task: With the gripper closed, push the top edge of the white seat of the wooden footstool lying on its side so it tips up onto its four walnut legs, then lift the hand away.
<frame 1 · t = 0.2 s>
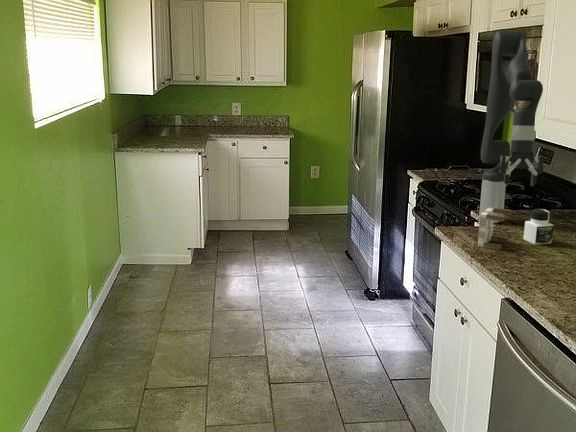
hand: (519, 185, 212), 22 cm above the worktop, tool pointing down, fingers open, 8 cm apart
medicine bottle: (537, 241, 225), on the worktop
footstool: (493, 243, 221), on the worktop
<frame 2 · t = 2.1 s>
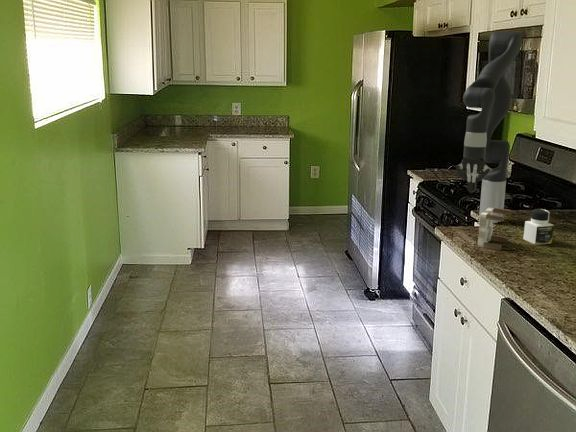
hand: (471, 192, 221), 18 cm above the worktop, tool pointing down, fingers closed
nothing on the worktop moved.
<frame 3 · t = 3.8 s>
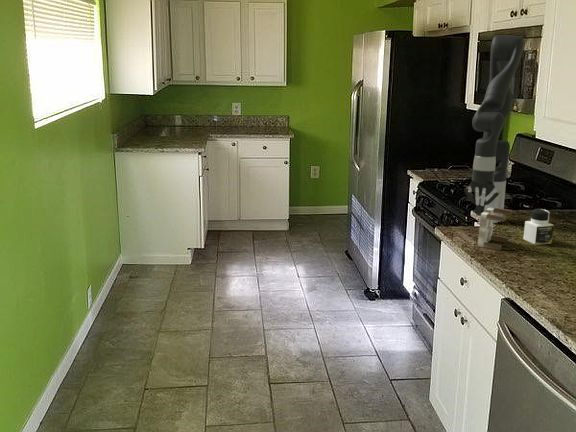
hand: (479, 215, 222), 10 cm above the worktop, tool pointing down, fingers closed
footstool: (493, 243, 221), on the worktop, touching gripper
everything else where it was.
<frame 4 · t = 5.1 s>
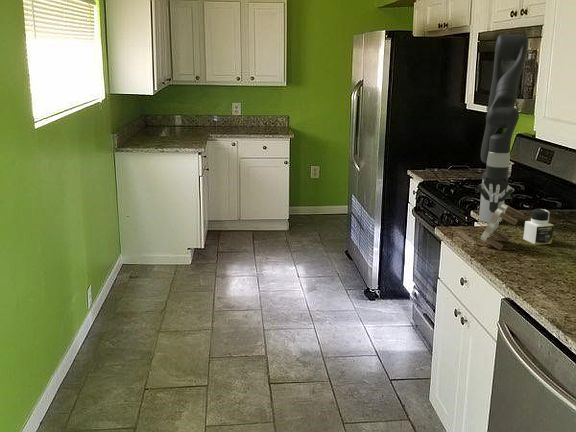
hand: (493, 212, 219), 12 cm above the worktop, tool pointing down, fingers closed
footstool: (494, 240, 221), point 1 cm above the worktop, tilted 22°, touching gripper
everything else where it was.
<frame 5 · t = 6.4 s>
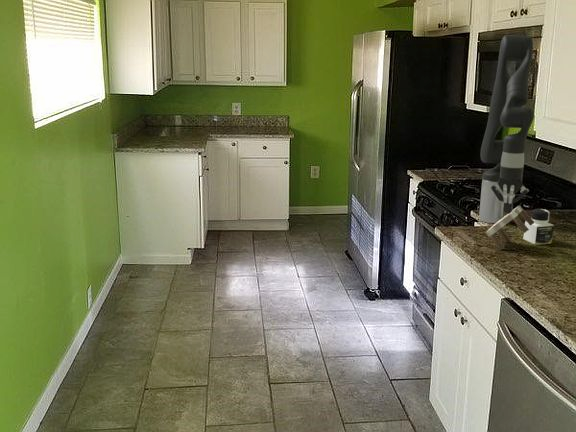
hand: (507, 213, 216), 12 cm above the worktop, tool pointing down, fingers closed
footstool: (496, 237, 220), point 3 cm above the worktop, tilted 44°
everything else where it was.
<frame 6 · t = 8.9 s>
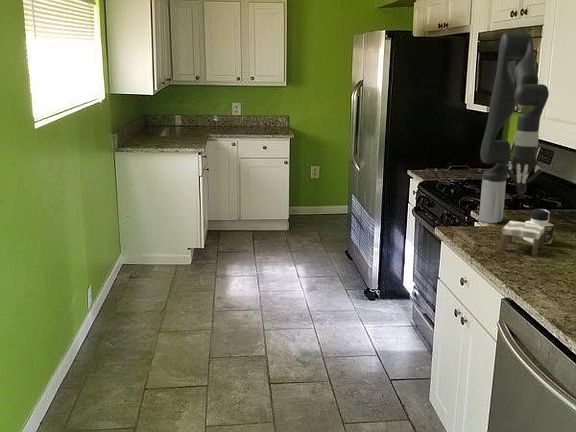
hand: (520, 193, 212), 20 cm above the worktop, tool pointing down, fingers closed
footstool: (505, 235, 218), point 4 cm above the worktop, tilted 90°
everything else where it was.
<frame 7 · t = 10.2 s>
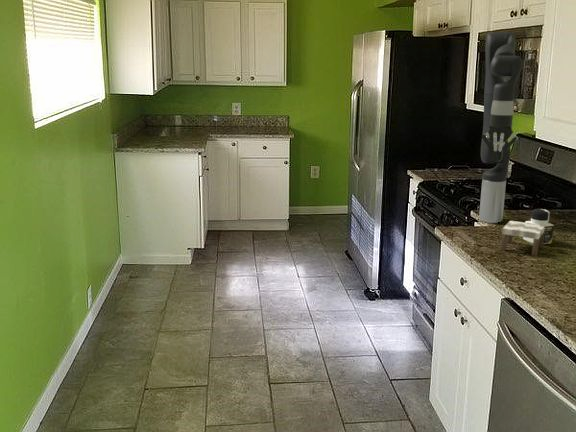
hand: (497, 161, 222), 29 cm above the worktop, tool pointing down, fingers closed
nothing on the worktop moved.
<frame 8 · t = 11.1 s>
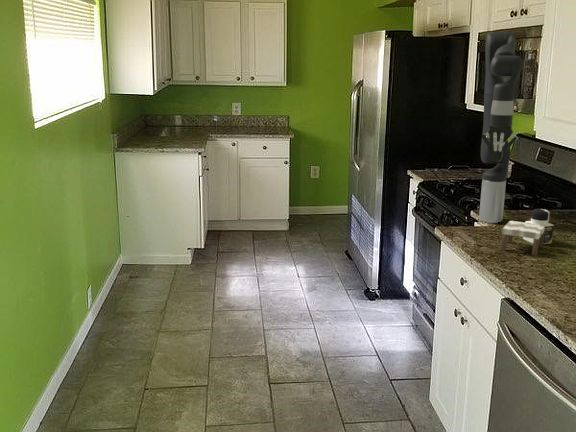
hand: (497, 161, 222), 29 cm above the worktop, tool pointing down, fingers closed
nothing on the worktop moved.
at the end: footstool tilted 90°; footstool 1.0 cm from the target spot, point 4.0 cm above the worktop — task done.
